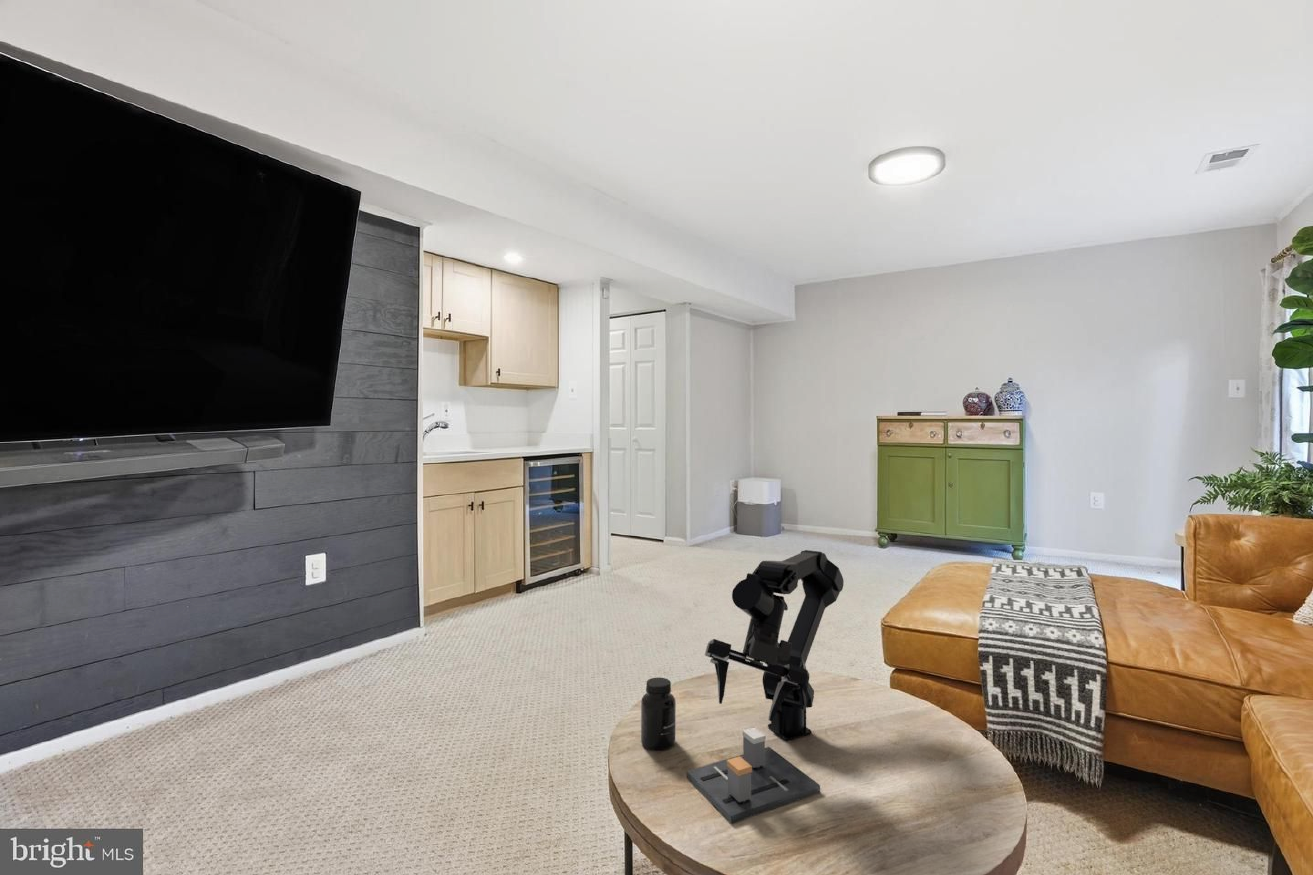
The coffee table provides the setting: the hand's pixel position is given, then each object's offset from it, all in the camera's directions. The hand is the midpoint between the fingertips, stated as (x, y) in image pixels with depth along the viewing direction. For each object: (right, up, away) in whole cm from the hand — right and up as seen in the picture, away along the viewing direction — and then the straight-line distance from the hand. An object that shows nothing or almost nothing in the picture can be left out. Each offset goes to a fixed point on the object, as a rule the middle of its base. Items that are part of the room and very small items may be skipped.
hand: (744, 712), depth 106 cm
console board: (+1, -11, -4) cm, 12 cm away
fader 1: (-2, -9, -9) cm, 13 cm away
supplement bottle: (-15, -11, +11) cm, 22 cm away
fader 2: (+2, -9, +1) cm, 10 cm away
